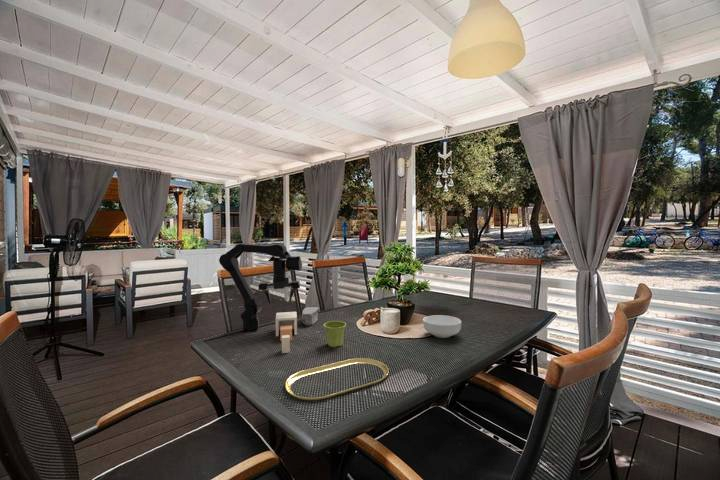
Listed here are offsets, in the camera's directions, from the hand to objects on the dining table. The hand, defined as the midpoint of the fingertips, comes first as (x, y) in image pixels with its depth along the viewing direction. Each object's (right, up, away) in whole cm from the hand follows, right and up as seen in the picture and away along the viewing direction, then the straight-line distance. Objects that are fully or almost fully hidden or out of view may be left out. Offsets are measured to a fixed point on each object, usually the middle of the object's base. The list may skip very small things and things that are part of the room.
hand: (279, 303), depth 151 cm
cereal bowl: (+75, -13, -6) cm, 77 cm away
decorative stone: (+12, -13, +14) cm, 22 cm away
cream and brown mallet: (+7, -14, -17) cm, 23 cm away
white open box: (+4, -13, -2) cm, 14 cm away
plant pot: (+28, -14, -18) cm, 36 cm away
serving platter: (+31, -16, -48) cm, 59 cm away
